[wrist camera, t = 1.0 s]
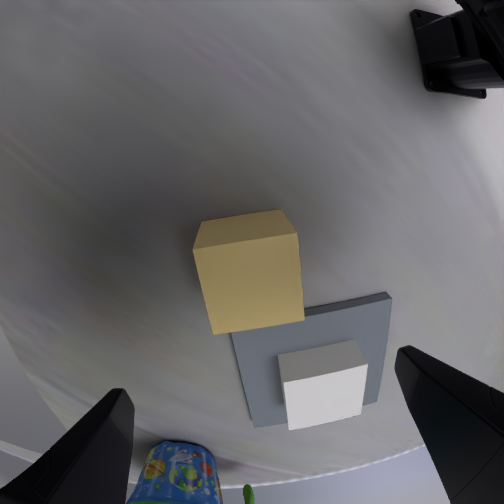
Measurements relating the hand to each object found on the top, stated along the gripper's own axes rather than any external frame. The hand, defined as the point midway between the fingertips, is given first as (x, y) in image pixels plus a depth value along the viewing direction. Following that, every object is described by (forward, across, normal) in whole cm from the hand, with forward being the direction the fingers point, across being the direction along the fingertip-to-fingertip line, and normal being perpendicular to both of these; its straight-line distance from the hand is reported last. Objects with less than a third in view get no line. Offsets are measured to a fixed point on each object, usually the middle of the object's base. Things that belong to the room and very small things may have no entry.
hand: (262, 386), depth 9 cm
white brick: (+11, -4, +11) cm, 16 cm away
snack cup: (+12, +11, +23) cm, 28 cm away
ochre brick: (+12, 0, 0) cm, 12 cm away
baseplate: (+12, -4, +11) cm, 17 cm away
